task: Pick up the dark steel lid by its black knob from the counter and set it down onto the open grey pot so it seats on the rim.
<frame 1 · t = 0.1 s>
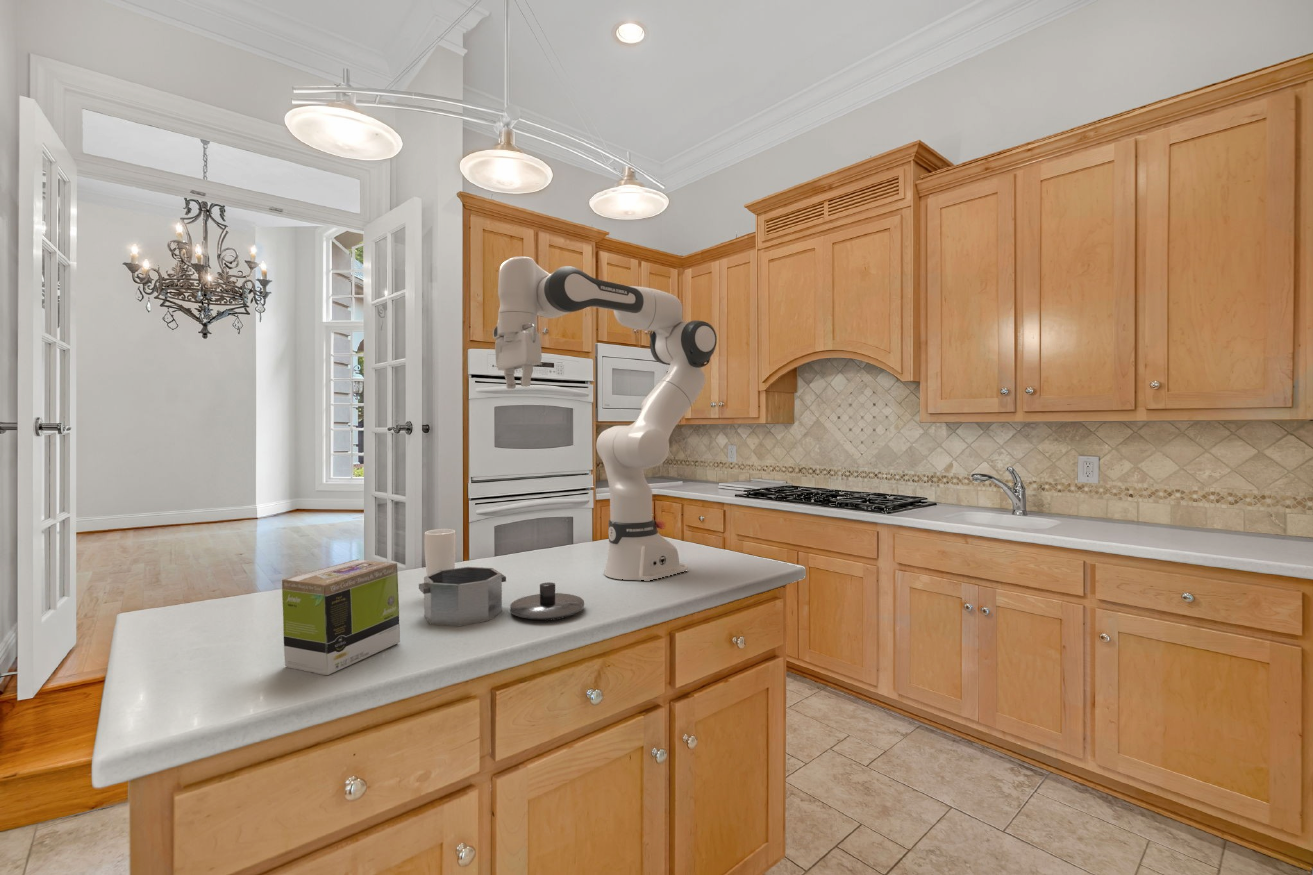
hand: (518, 387, 137), 48 cm above the table, tool pointing down, fingers open, 8 cm apart
pot: (463, 613, 122), on the table
tea box: (344, 656, 100), on the table
lid: (547, 612, 123), on the table
drinking glass: (440, 597, 134), on the table
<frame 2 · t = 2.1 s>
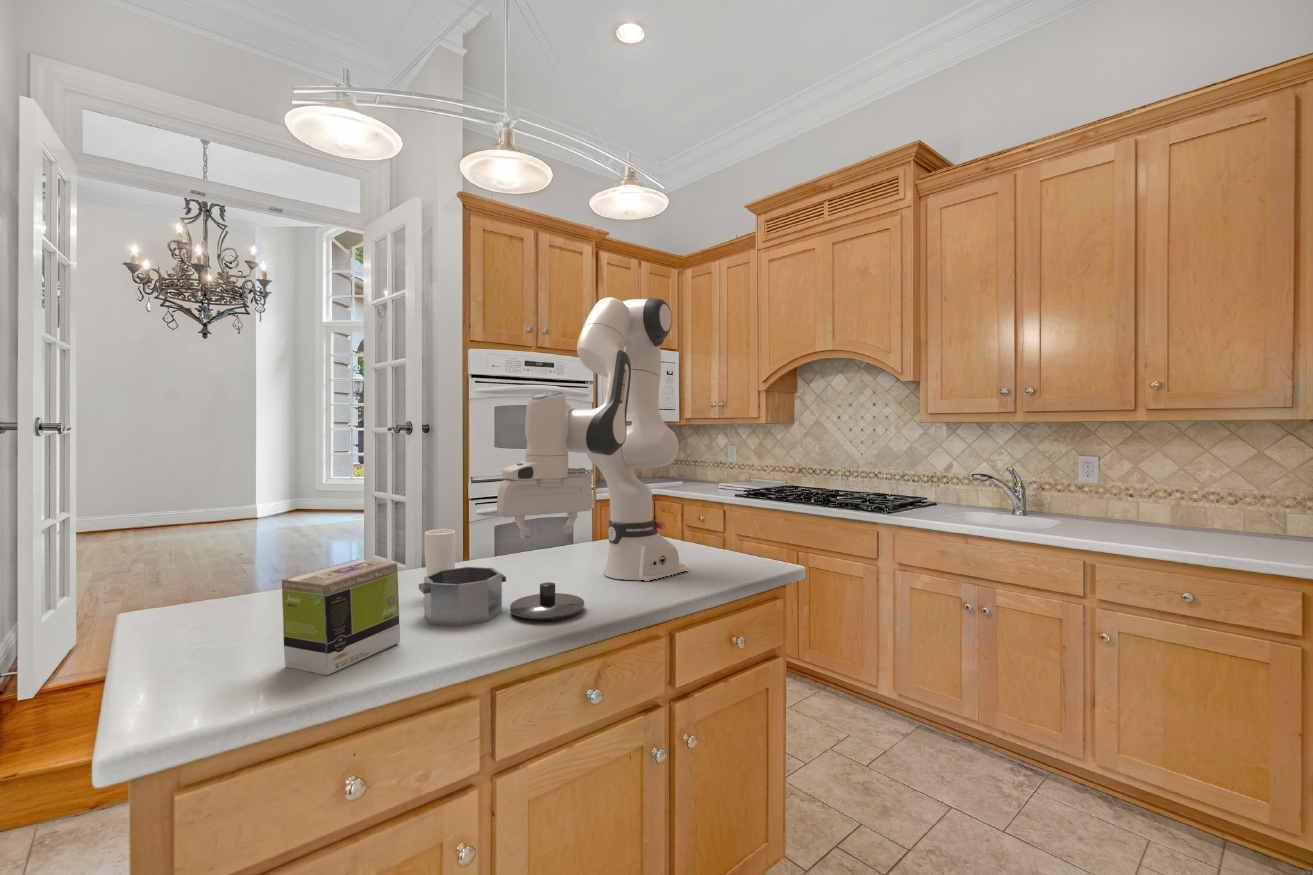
hand: (546, 535, 123), 16 cm above the table, tool pointing down, fingers open, 8 cm apart
nothing on the table moved.
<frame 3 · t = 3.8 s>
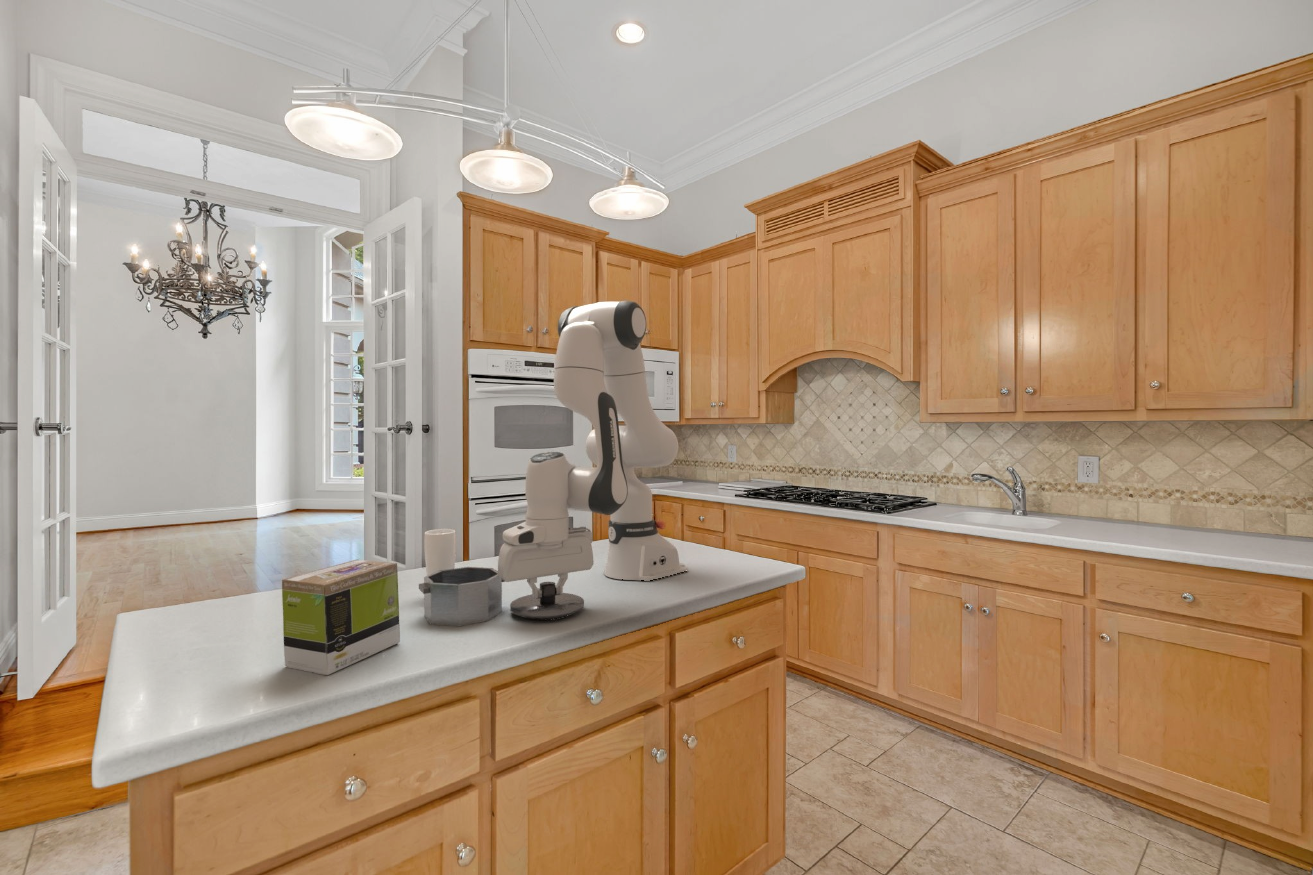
hand: (547, 596, 123), 3 cm above the table, tool pointing down, fingers closed on lid, 3 cm apart
lid: (547, 612, 123), on the table, touching gripper
everything else where it was.
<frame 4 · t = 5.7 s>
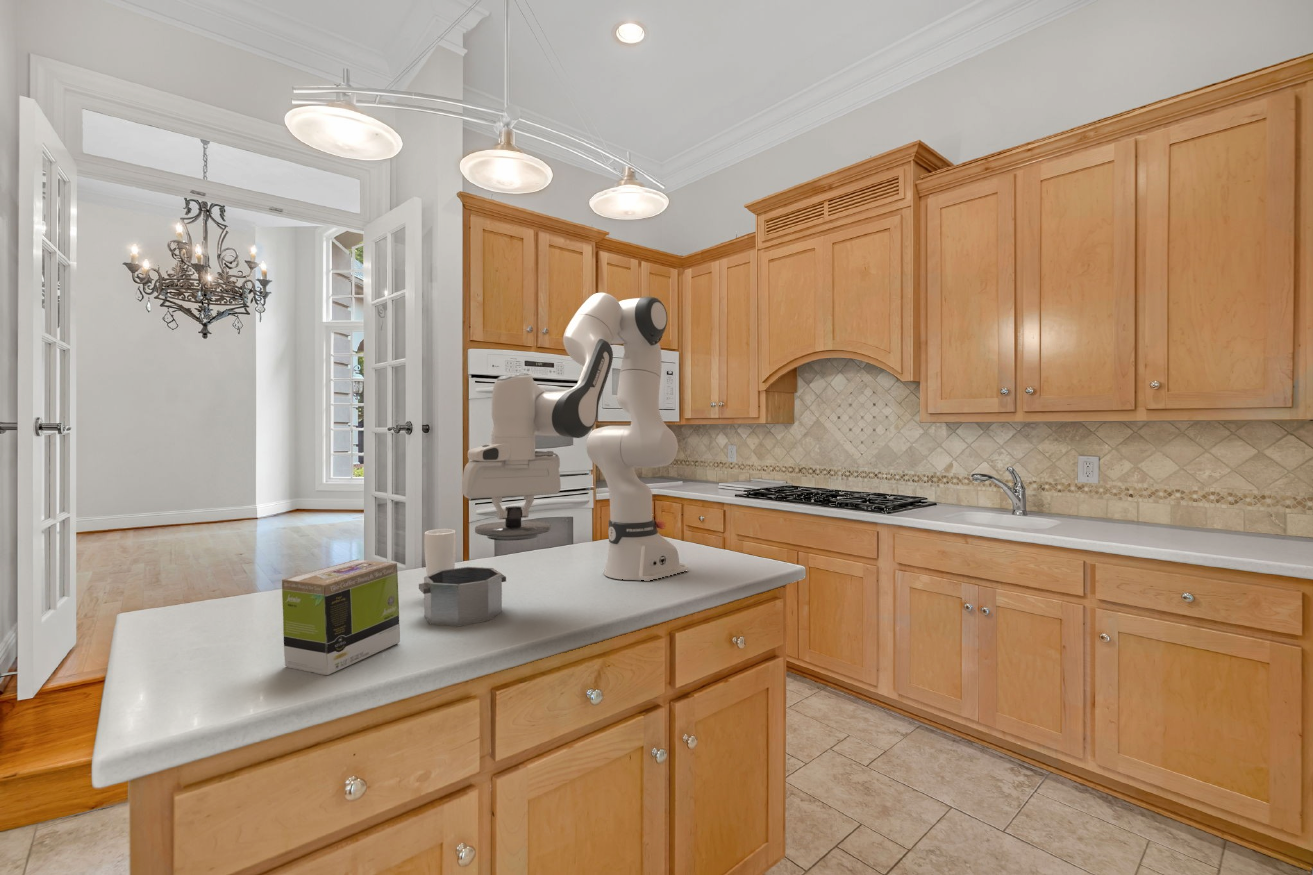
hand: (513, 518, 122), 20 cm above the table, tool pointing down, fingers closed on lid, 3 cm apart
lid: (513, 536, 122), point 16 cm above the table, touching gripper
everything else where it was.
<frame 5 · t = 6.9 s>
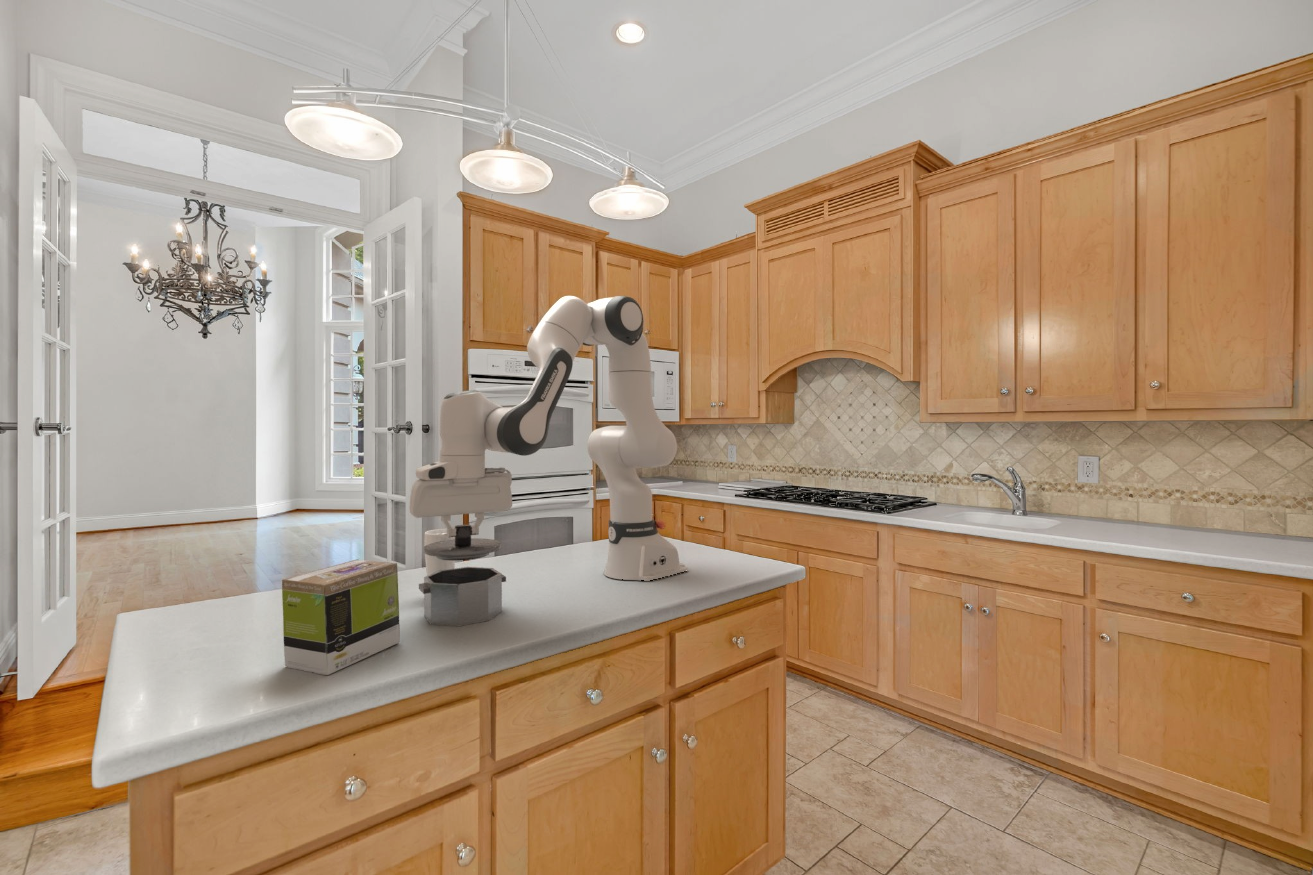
hand: (462, 535, 122), 16 cm above the table, tool pointing down, fingers closed on lid, 3 cm apart
lid: (463, 554, 122), point 12 cm above the table, touching gripper
everything else where it was.
when the fingers open (12 cm above the table, at t = 7.9 s): lid stays where it is, resting on pot.
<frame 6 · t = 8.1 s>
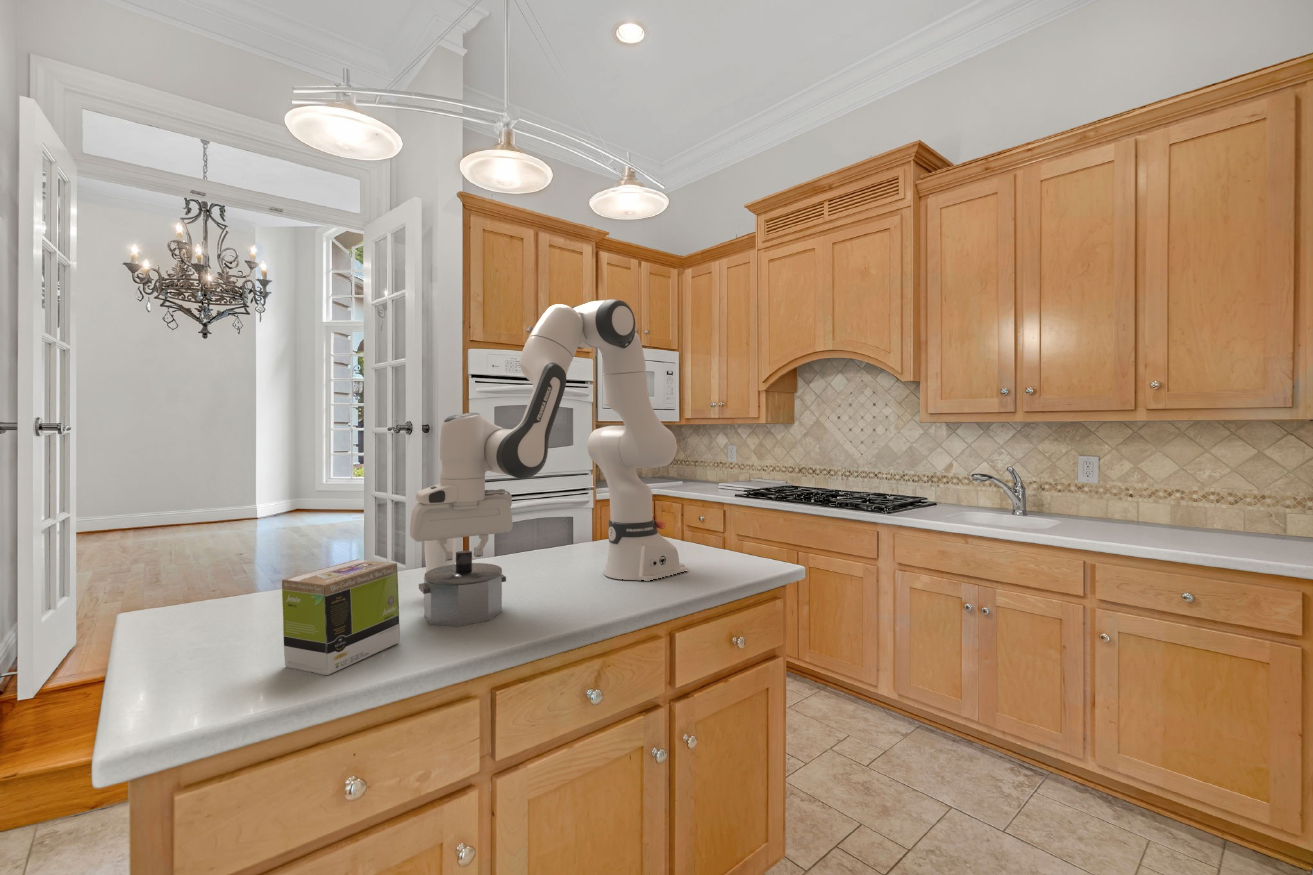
hand: (463, 558, 122), 12 cm above the table, tool pointing down, fingers open, 5 cm apart
lid: (464, 581, 122), point 7 cm above the table, touching pot
everything else where it was.
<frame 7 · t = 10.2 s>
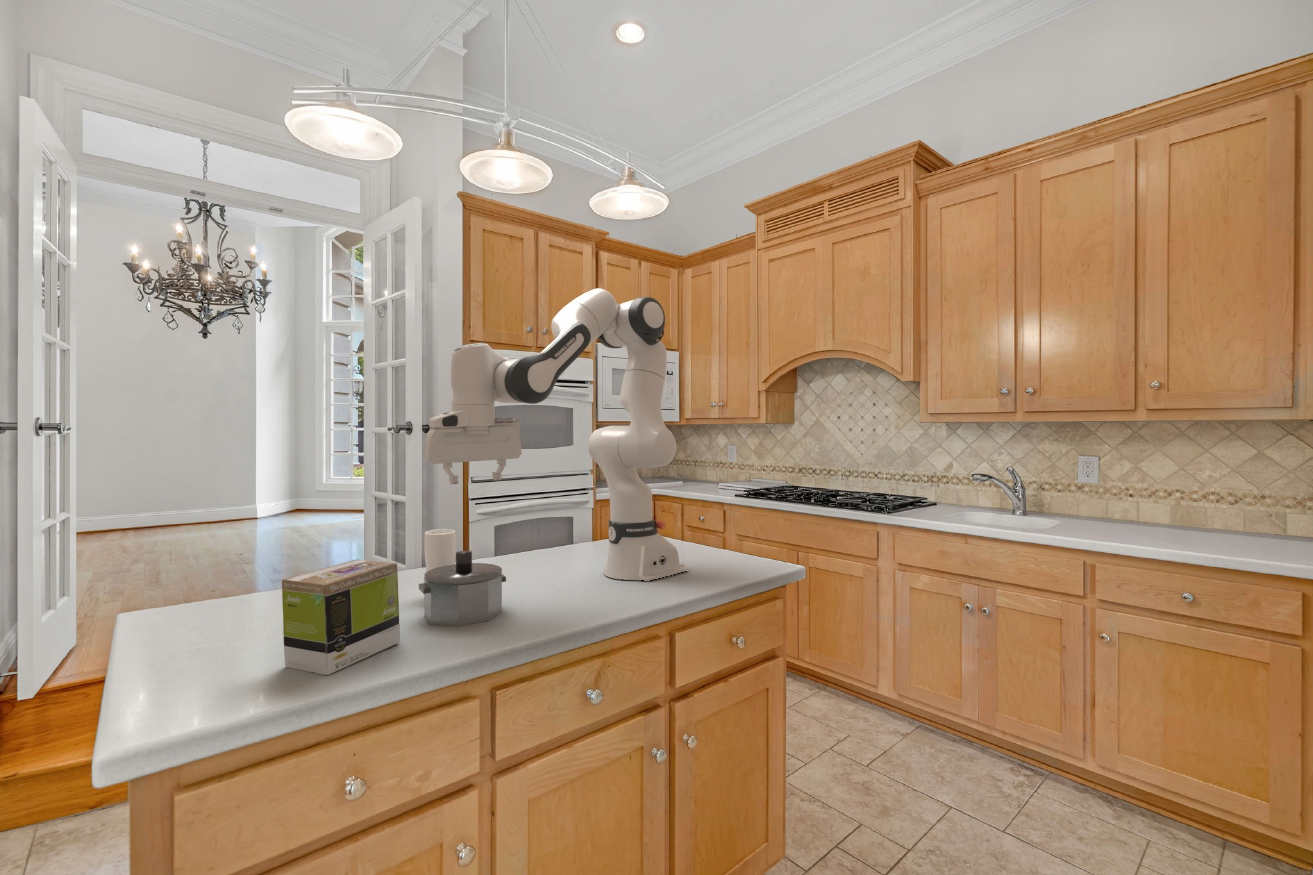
hand: (475, 482, 128), 27 cm above the table, tool pointing down, fingers open, 8 cm apart
nothing on the table moved.
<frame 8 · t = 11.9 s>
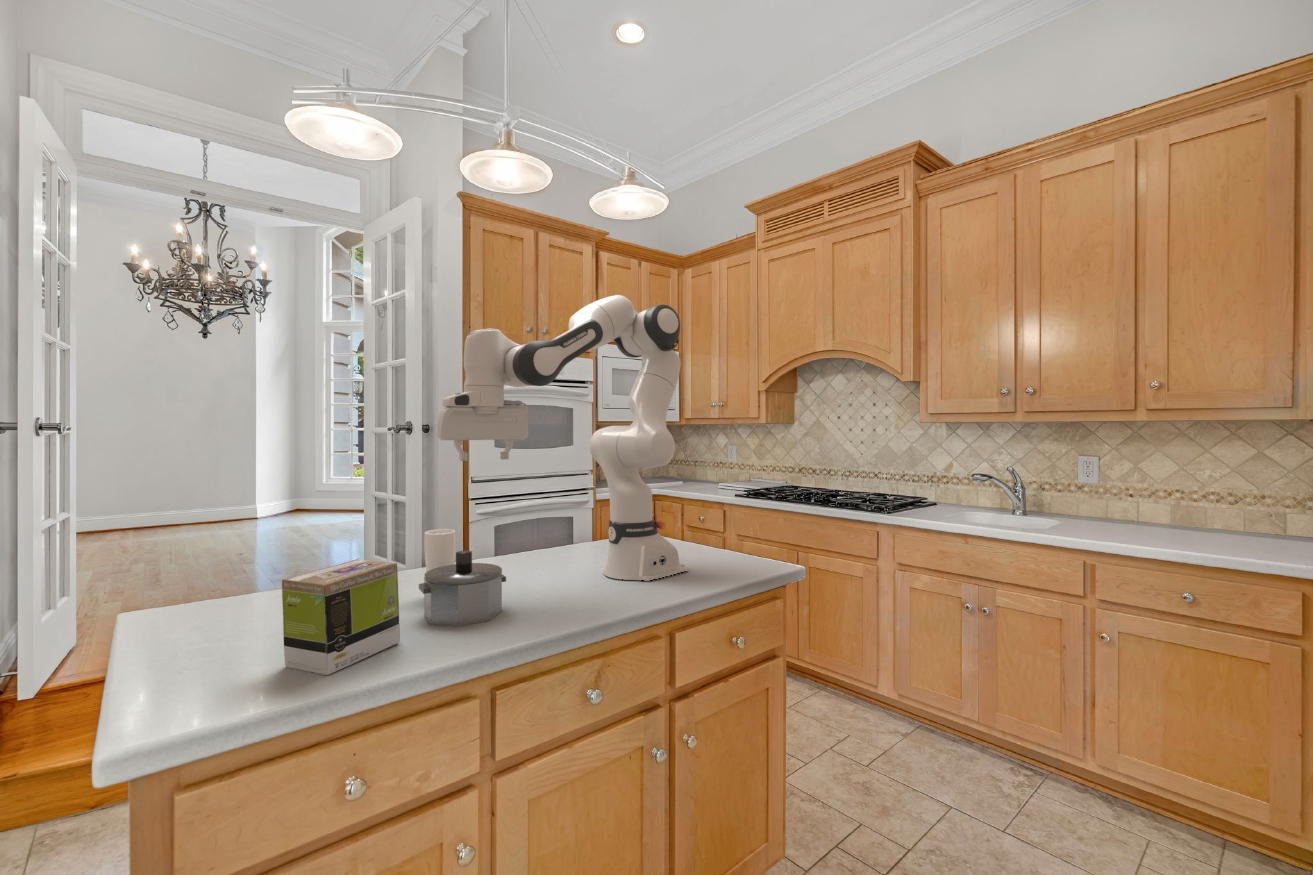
hand: (484, 460, 135), 31 cm above the table, tool pointing down, fingers open, 8 cm apart
nothing on the table moved.
at the end: lid 0.1 cm off-centre on the pot, point 6.8 cm above the pot's base; lid tilted 0°; the gripper is holding nothing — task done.
